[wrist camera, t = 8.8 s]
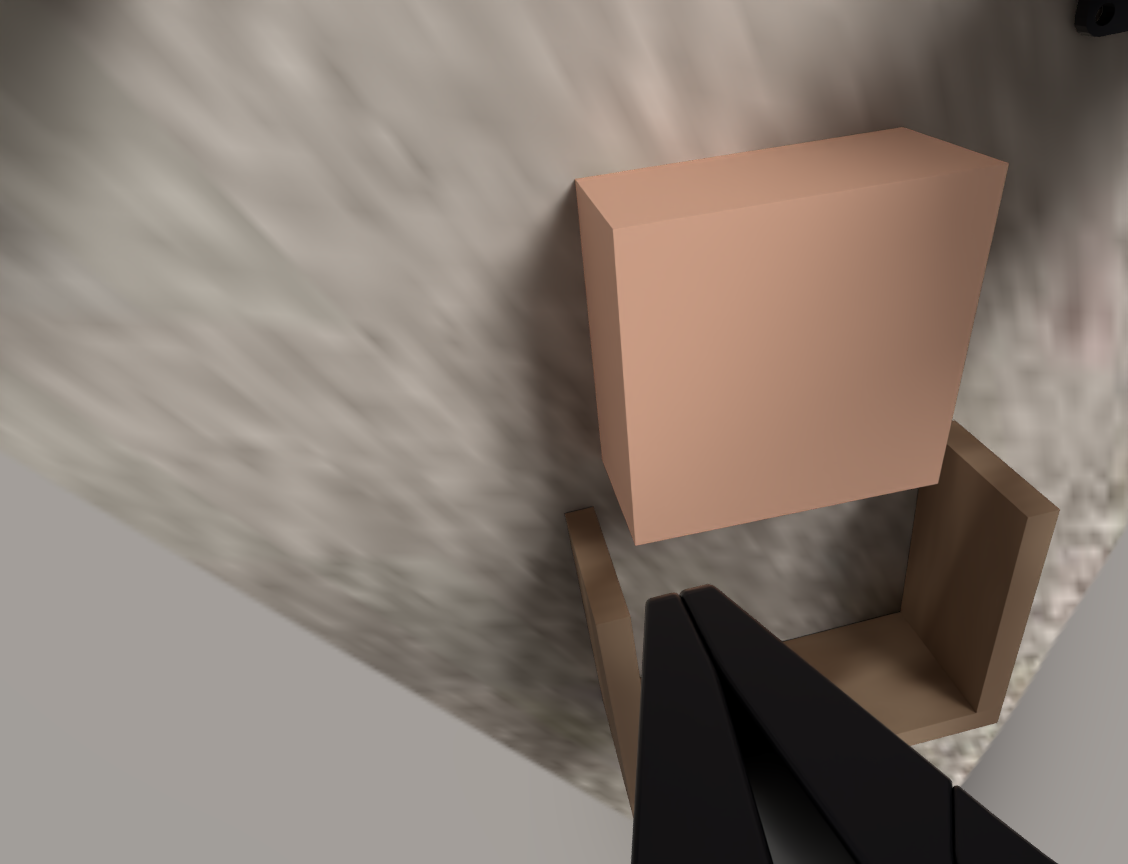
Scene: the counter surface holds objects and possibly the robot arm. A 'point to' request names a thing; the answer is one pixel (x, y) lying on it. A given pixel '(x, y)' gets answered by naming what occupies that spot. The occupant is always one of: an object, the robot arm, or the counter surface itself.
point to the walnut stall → (893, 642)
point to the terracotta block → (782, 323)
